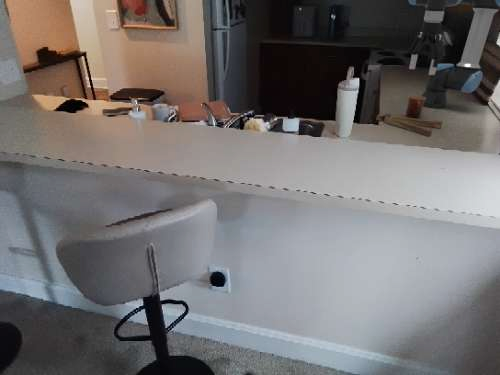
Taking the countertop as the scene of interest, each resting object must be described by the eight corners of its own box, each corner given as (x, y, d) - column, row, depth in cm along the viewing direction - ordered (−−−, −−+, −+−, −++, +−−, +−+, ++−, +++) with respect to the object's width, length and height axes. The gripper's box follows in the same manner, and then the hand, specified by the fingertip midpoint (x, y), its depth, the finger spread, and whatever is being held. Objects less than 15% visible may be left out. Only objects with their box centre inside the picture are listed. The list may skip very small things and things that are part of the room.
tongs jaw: (391, 120, 194) (392, 114, 192) (440, 126, 186) (441, 121, 185) (390, 121, 191) (391, 116, 190) (440, 128, 184) (442, 122, 183)
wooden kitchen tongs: (382, 118, 197) (383, 112, 195) (434, 134, 176) (436, 127, 175) (376, 120, 194) (377, 113, 193) (428, 136, 174) (430, 129, 172)
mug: (402, 113, 205) (406, 94, 201) (419, 115, 204) (424, 96, 199) (406, 120, 195) (410, 100, 190) (424, 121, 194) (429, 101, 189)
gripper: (407, 19, 176) (397, 67, 186) (446, 24, 155) (433, 77, 165) (420, 19, 178) (410, 66, 188) (461, 24, 157) (447, 76, 167)
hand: (421, 71), depth 176 cm, fingers open, 13 cm apart
